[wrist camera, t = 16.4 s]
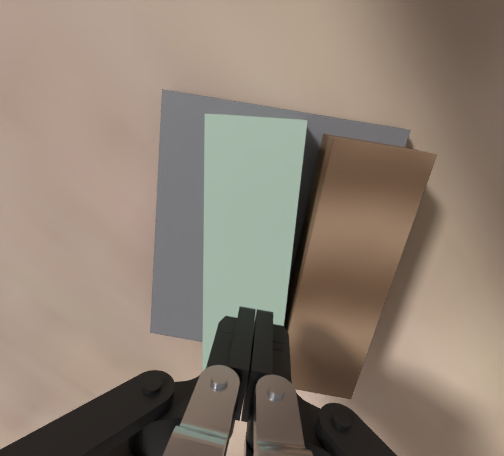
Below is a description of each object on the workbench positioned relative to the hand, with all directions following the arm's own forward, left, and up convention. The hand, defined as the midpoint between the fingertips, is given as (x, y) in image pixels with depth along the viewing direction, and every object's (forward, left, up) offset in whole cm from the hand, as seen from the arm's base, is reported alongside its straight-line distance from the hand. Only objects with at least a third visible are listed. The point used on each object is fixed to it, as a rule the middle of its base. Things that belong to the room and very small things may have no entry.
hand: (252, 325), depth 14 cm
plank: (-1, -1, -9) cm, 9 cm away
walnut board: (0, +5, -9) cm, 10 cm away
